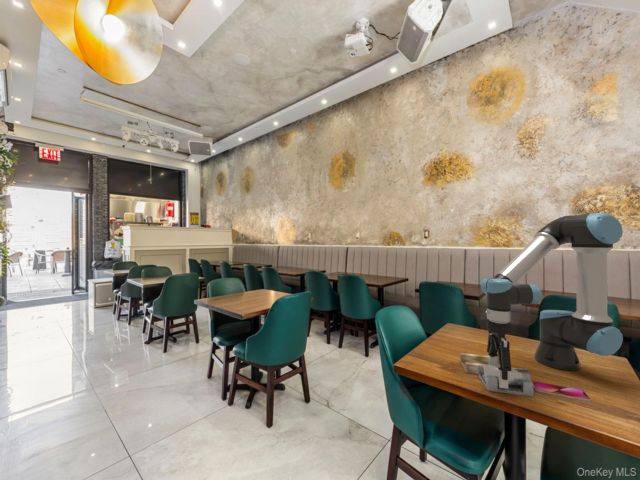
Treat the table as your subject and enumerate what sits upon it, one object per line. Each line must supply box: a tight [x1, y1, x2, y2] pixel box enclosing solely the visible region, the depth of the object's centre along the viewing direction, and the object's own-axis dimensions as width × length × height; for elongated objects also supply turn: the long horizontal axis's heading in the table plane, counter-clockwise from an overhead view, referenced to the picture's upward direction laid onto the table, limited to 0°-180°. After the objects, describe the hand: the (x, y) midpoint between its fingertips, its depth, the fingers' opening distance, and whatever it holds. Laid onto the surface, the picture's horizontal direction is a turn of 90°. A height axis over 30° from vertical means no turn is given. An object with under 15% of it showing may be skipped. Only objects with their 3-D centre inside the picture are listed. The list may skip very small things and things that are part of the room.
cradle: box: [478, 365, 534, 398], centre depth 102 cm, size 14×11×4 cm
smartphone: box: [531, 380, 591, 403], centre depth 98 cm, size 7×1×15 cm
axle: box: [482, 365, 532, 386], centre depth 102 cm, size 14×6×6 cm, turn 76°
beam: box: [459, 352, 500, 375], centre depth 115 cm, size 16×12×4 cm
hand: (498, 380), depth 103 cm, fingers open, 10 cm apart
